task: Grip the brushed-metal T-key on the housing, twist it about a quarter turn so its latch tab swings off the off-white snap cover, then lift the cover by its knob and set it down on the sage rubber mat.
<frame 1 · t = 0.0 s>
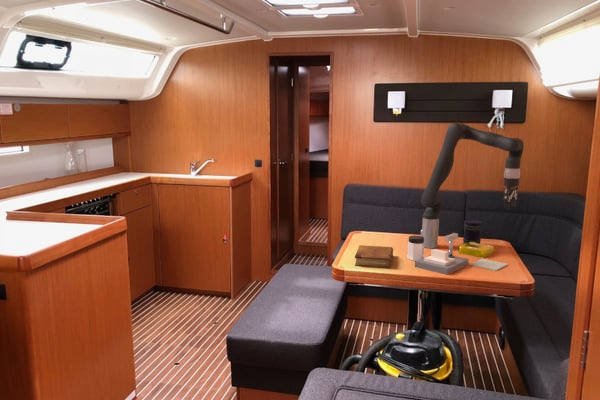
hand: (509, 207, 252), 29 cm above the table, tool pointing down, fingers open, 8 cm apart
jar: (415, 259, 263), on the table
housing: (441, 265, 250), on the table
mat: (488, 265, 251), on the table
storage jar: (471, 246, 290), on the table
element tile: (475, 253, 274), on the table
t key: (449, 246, 254), point 9 cm above the table, hinge at 0.0°
diary: (374, 261, 259), on the table
cover: (439, 261, 248), point 3 cm above the table, touching housing
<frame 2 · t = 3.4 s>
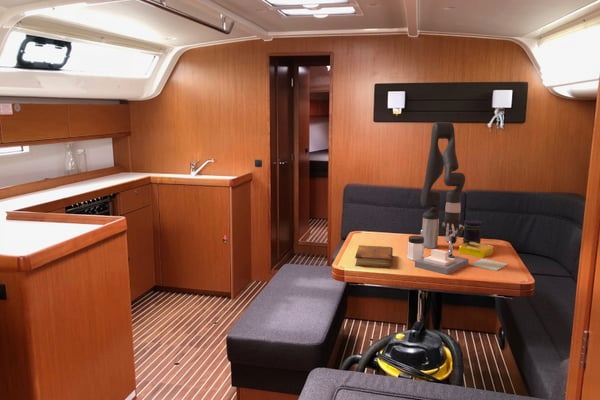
hand: (451, 242, 255), 11 cm above the table, tool pointing down, fingers closed on t key, 2 cm apart
t key: (449, 246, 254), point 9 cm above the table, hinge at 0.0°, touching gripper
everything else where it was.
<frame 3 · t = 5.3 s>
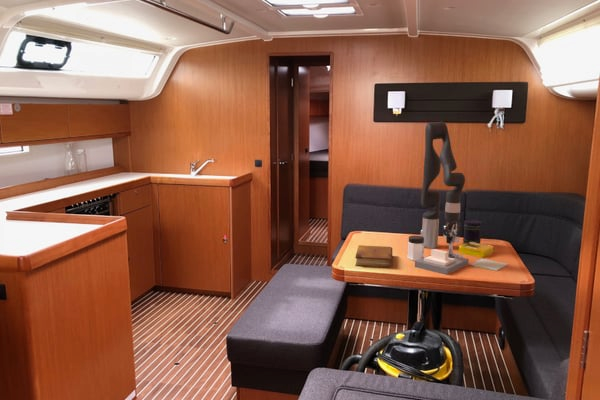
hand: (450, 242, 255), 11 cm above the table, tool pointing down, fingers closed on t key, 3 cm apart
t key: (453, 246, 253), point 9 cm above the table, hinge at 63.8°, touching gripper
everything else where it was.
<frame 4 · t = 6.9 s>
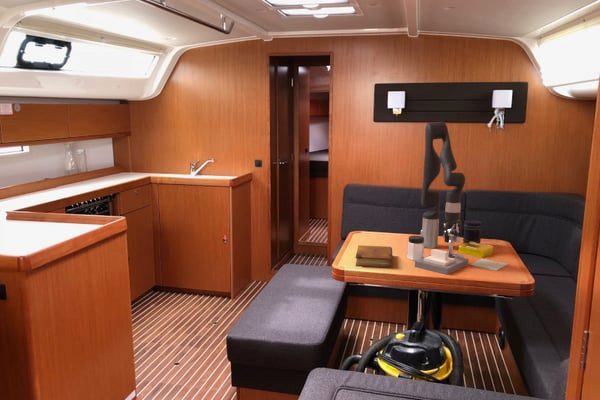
hand: (451, 241, 255), 12 cm above the table, tool pointing down, fingers open, 8 cm apart
t key: (453, 246, 253), point 9 cm above the table, hinge at 69.7°
everything else where it was.
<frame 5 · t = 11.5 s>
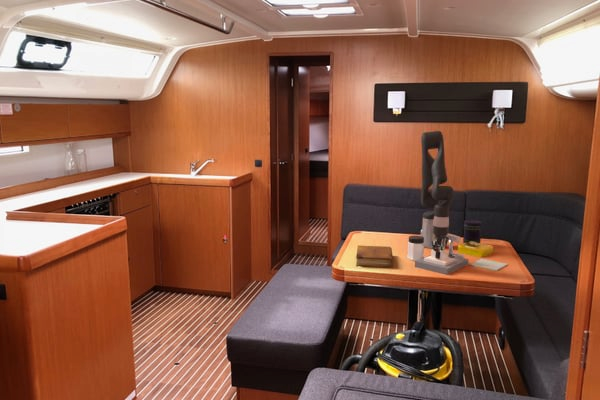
hand: (439, 257, 247), 5 cm above the table, tool pointing down, fingers closed on cover, 3 cm apart
t key: (453, 246, 253), point 9 cm above the table, hinge at 70.2°
cover: (439, 261, 248), point 3 cm above the table, touching gripper, housing
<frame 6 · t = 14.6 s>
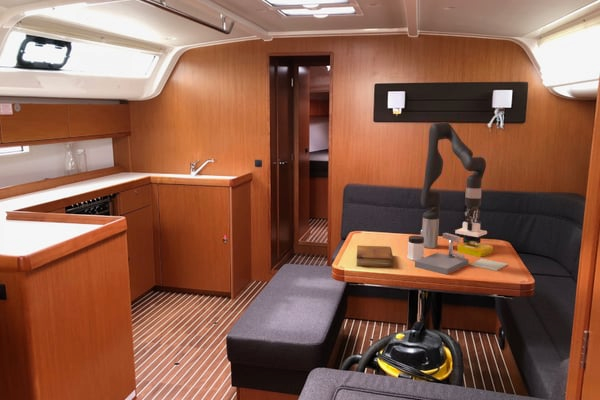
hand: (471, 229, 247), 19 cm above the table, tool pointing down, fingers closed on cover, 3 cm apart
cover: (470, 233, 247), point 17 cm above the table, touching gripper
when the fingers open (4 cm above the table, at t = 18.0 s): cover drops 1 cm, resting on mat.
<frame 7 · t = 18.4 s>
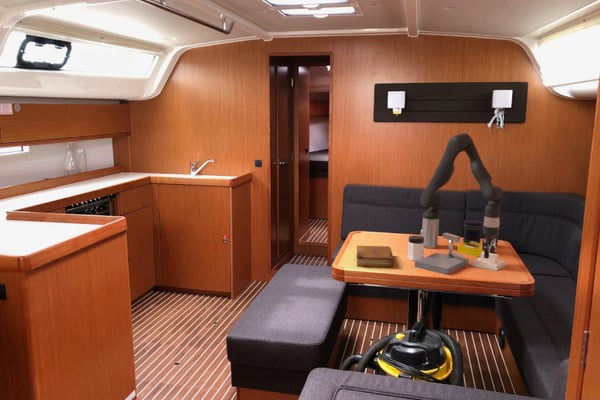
hand: (489, 256, 250), 5 cm above the table, tool pointing down, fingers open, 6 cm apart
cover: (488, 263, 251), point 1 cm above the table, touching mat
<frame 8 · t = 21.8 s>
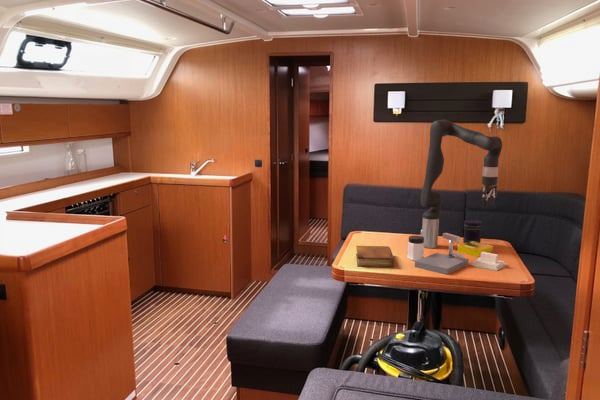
hand: (488, 206, 252), 30 cm above the table, tool pointing down, fingers open, 8 cm apart
at the end: t key at +70° (first picture: +0°); cover inside the target area on the mat (0.0 cm from its centre), point 0.6 cm above the mat's base; the gripper is holding nothing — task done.
